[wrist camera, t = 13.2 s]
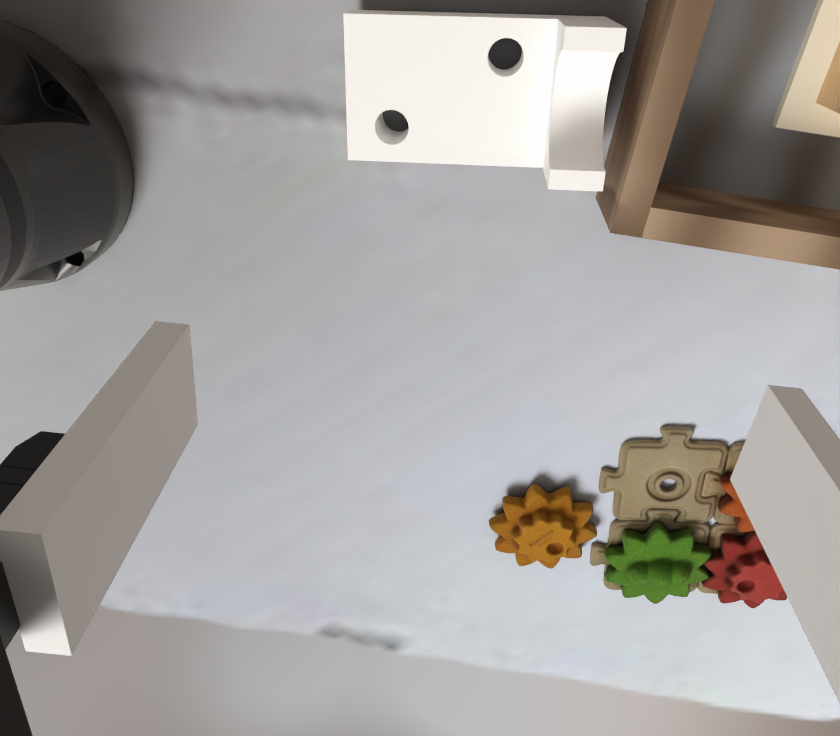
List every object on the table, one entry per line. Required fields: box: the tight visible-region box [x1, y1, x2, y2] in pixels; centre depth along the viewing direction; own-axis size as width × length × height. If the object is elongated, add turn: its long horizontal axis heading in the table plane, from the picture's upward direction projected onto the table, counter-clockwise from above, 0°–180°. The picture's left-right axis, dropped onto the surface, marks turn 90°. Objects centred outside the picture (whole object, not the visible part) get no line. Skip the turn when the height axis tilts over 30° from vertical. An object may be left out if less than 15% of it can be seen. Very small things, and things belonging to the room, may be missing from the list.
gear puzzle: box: [489, 425, 787, 608], centre depth 52 cm, size 31×16×4 cm, turn 92°
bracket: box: [343, 10, 627, 191], centre depth 36 cm, size 13×7×8 cm, turn 89°
